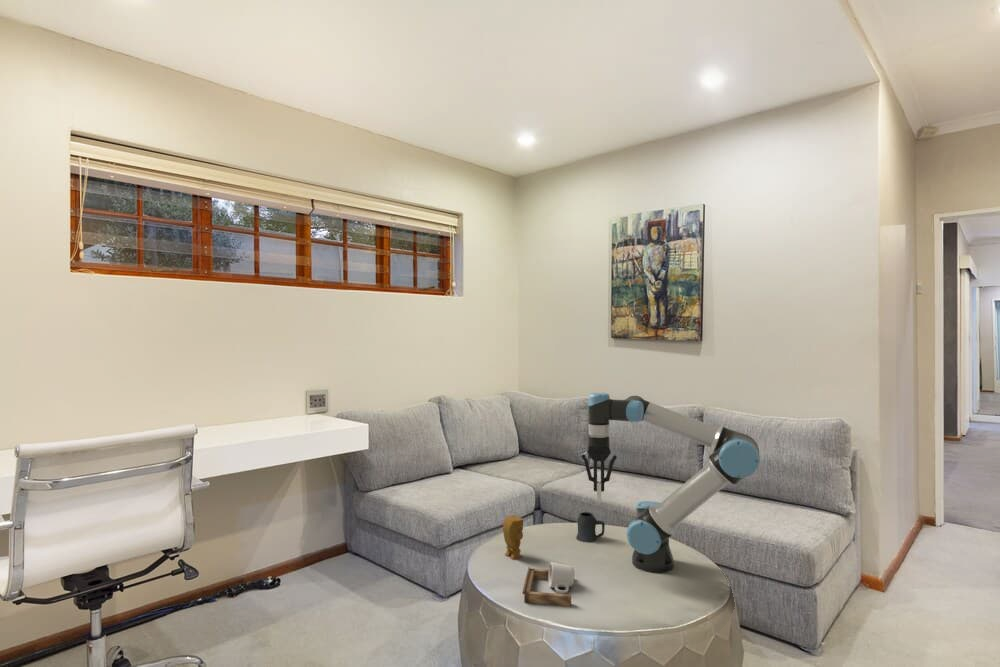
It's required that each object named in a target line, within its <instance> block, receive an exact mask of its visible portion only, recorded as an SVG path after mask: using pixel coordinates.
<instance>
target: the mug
mask: <svg viewBox="0 0 1000 667" xmlns="http://www.w3.org/2000/svg"><path fill="white" fill-rule="evenodd" d="M597 525H601V532H600V533H599V534H596V526H597ZM605 529H606V528H605V521H604V520H603V521H602V520H597V518H595V516H594V514H593V512H589V511H583V512H580V513H579V516H578V517H577V533H576V536H575V538H576V540H577V541H578V542H582V543H594V542H596V541H597V540H598V539H597V538H602V537H603V536H604V534H605Z"/></svg>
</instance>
